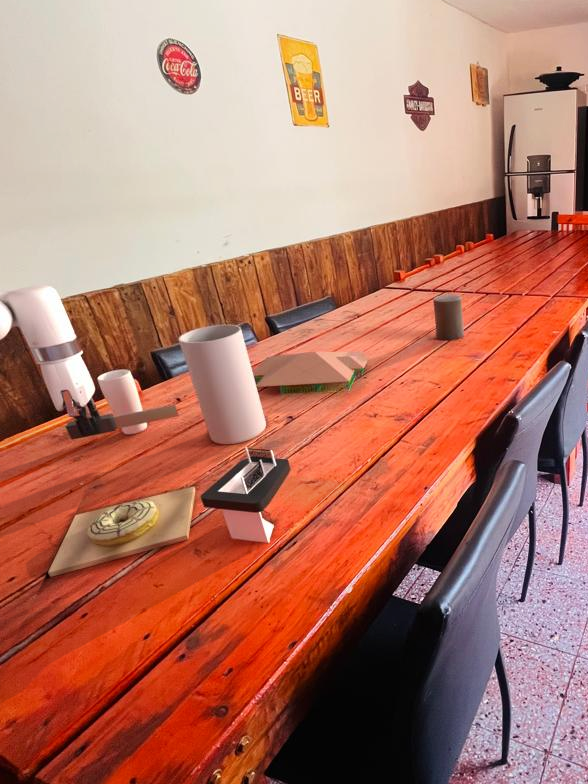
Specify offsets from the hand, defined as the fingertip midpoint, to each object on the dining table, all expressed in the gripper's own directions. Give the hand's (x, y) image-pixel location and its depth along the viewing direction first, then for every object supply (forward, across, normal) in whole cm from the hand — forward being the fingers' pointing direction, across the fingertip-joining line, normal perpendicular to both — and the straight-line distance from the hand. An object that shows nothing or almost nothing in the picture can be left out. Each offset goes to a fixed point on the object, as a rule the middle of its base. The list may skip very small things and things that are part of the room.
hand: (93, 430), depth 108 cm
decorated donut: (+9, +29, +8) cm, 31 cm away
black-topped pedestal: (+9, +37, +31) cm, 50 cm away
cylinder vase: (+9, -2, +27) cm, 28 cm away
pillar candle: (+10, -43, +96) cm, 105 cm away
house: (+9, -28, +47) cm, 55 cm away
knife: (+1, 0, +5) cm, 5 cm away
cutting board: (+9, +28, +9) cm, 31 cm away
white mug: (+9, -16, +3) cm, 18 cm away
